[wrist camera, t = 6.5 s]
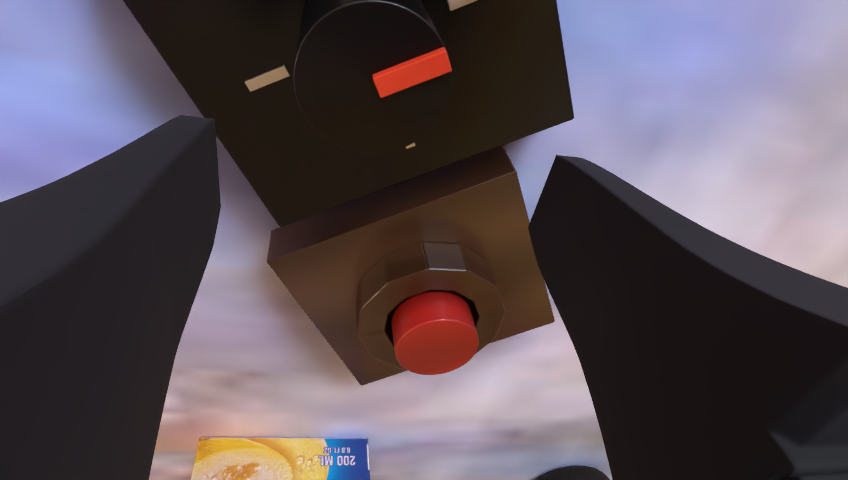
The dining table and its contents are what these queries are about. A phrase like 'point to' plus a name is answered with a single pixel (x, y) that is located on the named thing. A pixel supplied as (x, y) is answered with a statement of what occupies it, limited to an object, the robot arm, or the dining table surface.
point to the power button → (434, 333)
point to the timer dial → (370, 72)
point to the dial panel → (308, 150)
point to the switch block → (416, 260)
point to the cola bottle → (574, 474)
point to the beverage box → (282, 459)
